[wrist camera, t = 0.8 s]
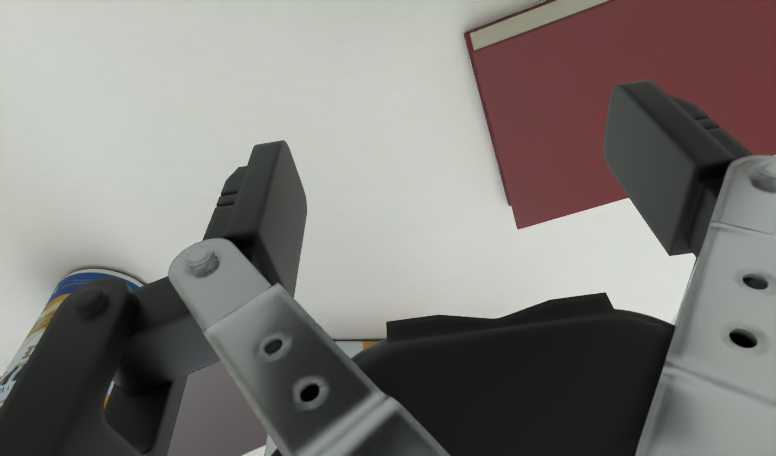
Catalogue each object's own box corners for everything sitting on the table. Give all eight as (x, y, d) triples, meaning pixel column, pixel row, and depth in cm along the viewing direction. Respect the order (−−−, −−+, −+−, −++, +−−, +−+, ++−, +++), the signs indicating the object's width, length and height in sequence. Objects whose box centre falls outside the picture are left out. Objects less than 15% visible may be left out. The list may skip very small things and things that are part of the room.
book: (463, 33, 28) (472, 53, 26) (824, -105, 24) (871, -95, 22) (508, 203, 37) (517, 229, 35) (777, 122, 33) (807, 146, 31)
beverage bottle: (70, 322, 44) (-75, 586, 30) (45, 259, 39) (-150, 544, 24) (166, 329, 46) (74, 585, 31) (155, 269, 40) (35, 545, 25)
